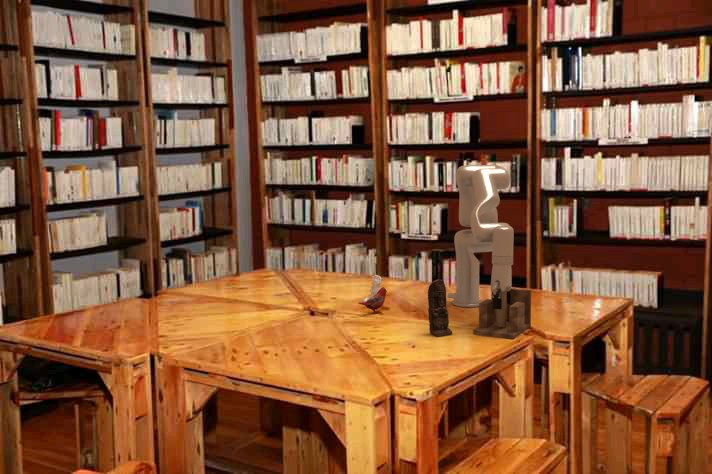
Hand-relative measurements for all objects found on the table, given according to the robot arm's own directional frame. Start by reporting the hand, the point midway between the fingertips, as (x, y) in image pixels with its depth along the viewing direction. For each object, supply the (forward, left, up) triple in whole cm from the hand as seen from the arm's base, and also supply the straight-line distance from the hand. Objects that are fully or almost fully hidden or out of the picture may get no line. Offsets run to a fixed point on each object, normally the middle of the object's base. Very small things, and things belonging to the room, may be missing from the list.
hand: (501, 306), depth 294 cm
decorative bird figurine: (-54, +2, -9) cm, 55 cm away
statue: (-18, -14, -10) cm, 25 cm away
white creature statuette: (-63, +21, -10) cm, 67 cm away
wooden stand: (0, 0, -9) cm, 9 cm away
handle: (0, 0, -8) cm, 8 cm away
